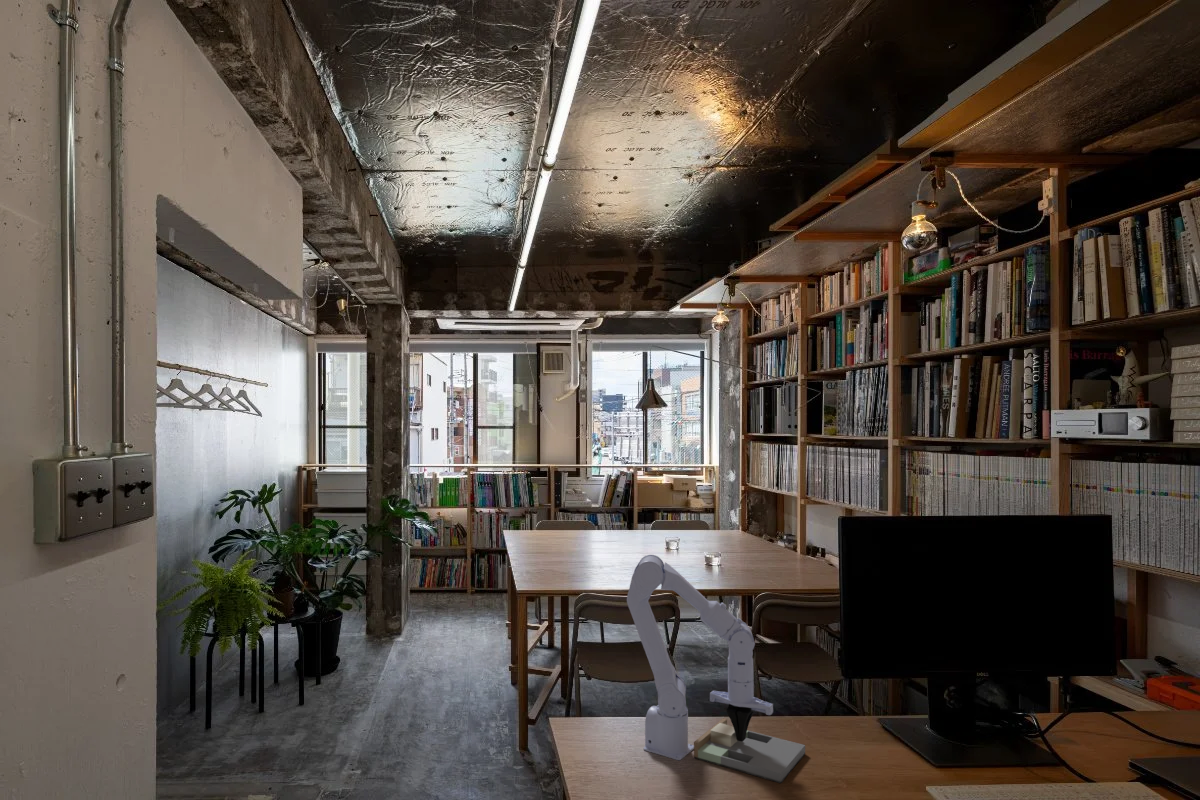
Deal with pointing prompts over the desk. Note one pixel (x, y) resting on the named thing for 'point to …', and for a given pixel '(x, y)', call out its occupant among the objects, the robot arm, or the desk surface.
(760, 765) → the board
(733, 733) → the cream block
